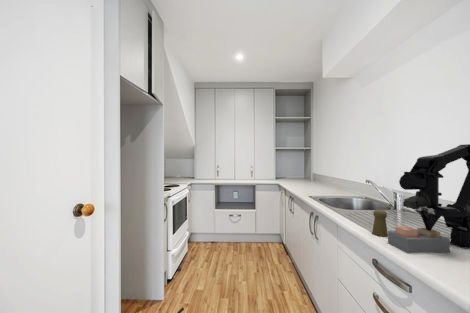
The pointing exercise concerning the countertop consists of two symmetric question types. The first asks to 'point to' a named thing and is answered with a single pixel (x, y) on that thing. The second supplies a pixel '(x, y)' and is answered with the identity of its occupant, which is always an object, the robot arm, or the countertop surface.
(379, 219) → the olive brown cylinder
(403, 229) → the terracotta key
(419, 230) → the oak key
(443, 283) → the countertop surface
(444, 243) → the grey socket block
